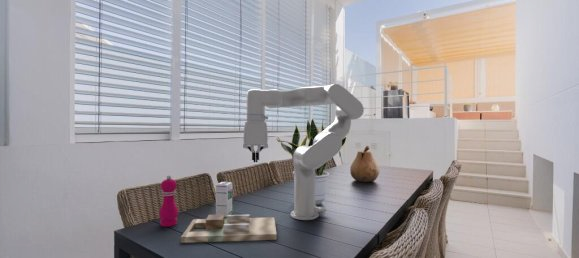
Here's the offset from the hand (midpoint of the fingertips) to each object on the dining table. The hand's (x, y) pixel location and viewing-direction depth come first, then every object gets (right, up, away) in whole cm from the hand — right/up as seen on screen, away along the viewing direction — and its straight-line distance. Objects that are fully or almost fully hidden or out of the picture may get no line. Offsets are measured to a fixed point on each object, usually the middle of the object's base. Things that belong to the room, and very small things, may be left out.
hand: (255, 161), depth 120 cm
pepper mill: (-35, -25, -5) cm, 43 cm away
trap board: (-7, -25, -12) cm, 29 cm away
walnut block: (-14, -23, -13) cm, 30 cm away
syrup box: (-15, -25, +7) cm, 30 cm away
